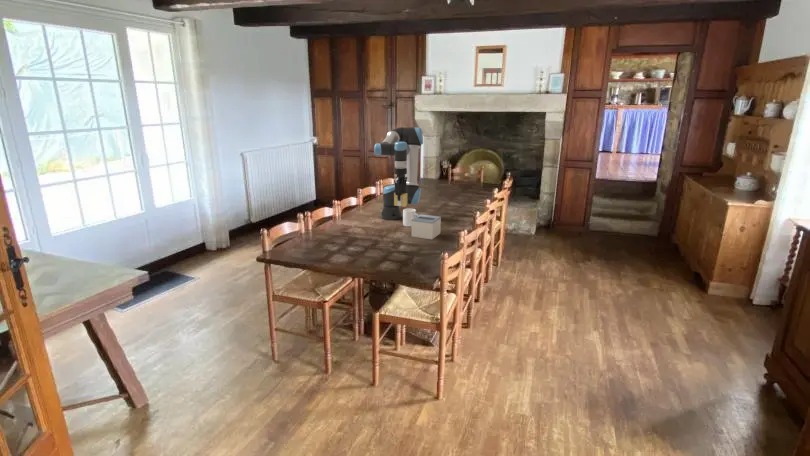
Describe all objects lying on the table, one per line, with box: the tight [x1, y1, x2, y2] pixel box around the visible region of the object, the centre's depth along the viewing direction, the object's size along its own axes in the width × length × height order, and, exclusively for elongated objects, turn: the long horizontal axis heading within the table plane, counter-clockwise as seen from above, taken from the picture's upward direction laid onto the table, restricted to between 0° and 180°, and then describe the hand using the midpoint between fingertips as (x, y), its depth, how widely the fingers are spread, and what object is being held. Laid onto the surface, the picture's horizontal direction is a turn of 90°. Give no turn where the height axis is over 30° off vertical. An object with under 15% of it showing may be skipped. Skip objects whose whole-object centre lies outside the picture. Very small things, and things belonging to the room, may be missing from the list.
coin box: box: [410, 213, 442, 240], centre depth 271 cm, size 14×14×11 cm
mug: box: [402, 208, 419, 228], centre depth 291 cm, size 9×12×11 cm
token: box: [394, 193, 408, 208], centre depth 269 cm, size 8×2×8 cm, turn 63°
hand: (400, 205), depth 270 cm, fingers closed on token, 2 cm apart
